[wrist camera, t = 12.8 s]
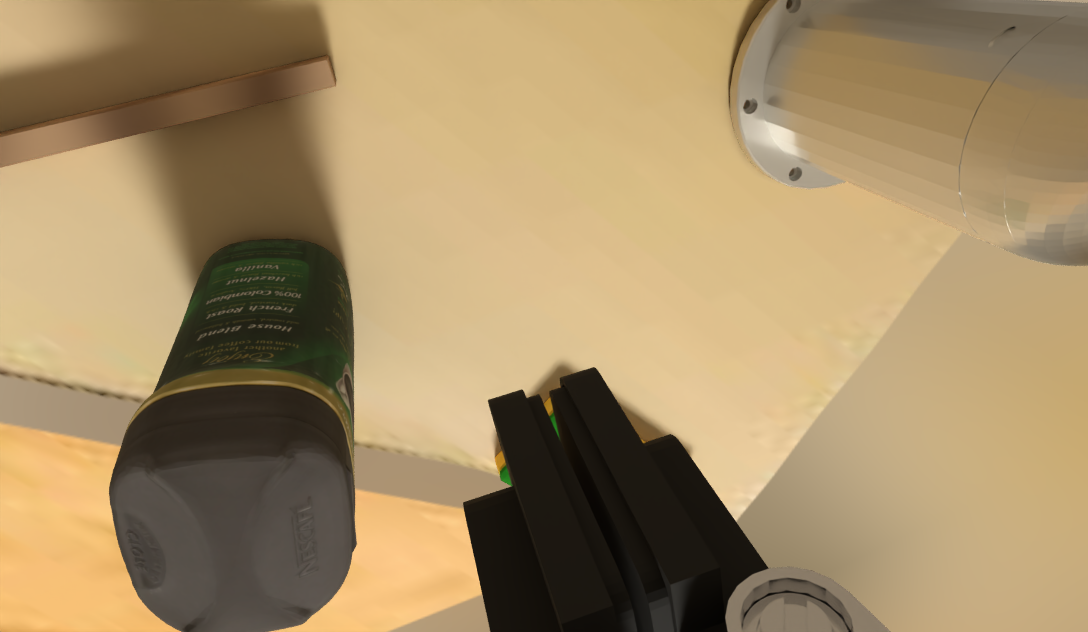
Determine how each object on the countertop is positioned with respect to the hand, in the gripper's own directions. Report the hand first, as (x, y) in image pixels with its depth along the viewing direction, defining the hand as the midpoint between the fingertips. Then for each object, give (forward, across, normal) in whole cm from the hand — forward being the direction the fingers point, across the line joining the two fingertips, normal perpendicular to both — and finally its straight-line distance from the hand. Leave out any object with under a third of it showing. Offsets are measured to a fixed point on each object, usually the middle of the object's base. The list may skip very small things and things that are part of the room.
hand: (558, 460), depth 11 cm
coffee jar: (+29, +10, +9) cm, 32 cm away
